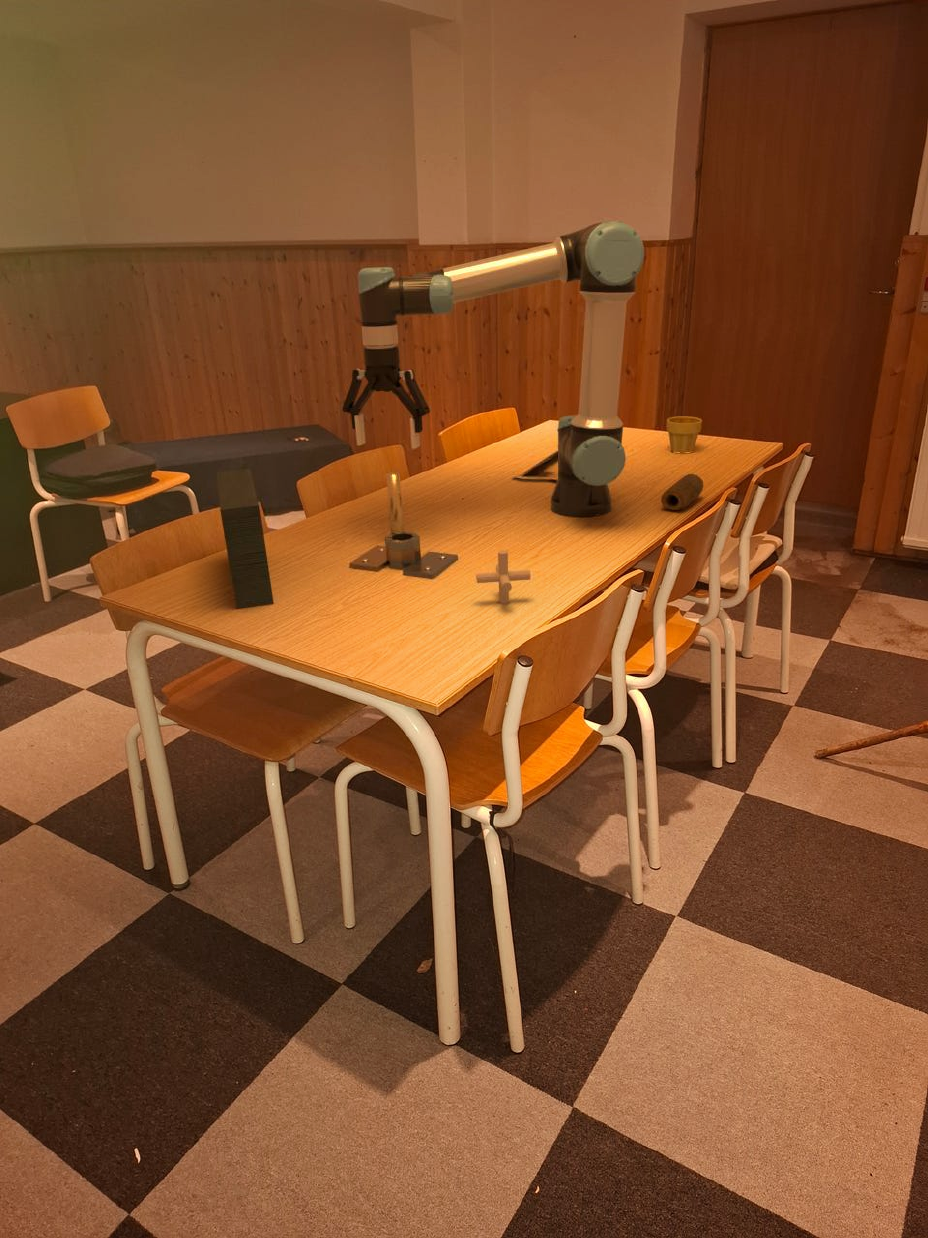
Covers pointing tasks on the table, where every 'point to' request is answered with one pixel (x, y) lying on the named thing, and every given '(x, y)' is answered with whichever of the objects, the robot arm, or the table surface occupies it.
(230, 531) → the dark layered block
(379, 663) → the table surface
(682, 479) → the stone weight
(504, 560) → the pipe connector
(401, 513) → the hinge pin
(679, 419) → the plant pot
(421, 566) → the hinge
